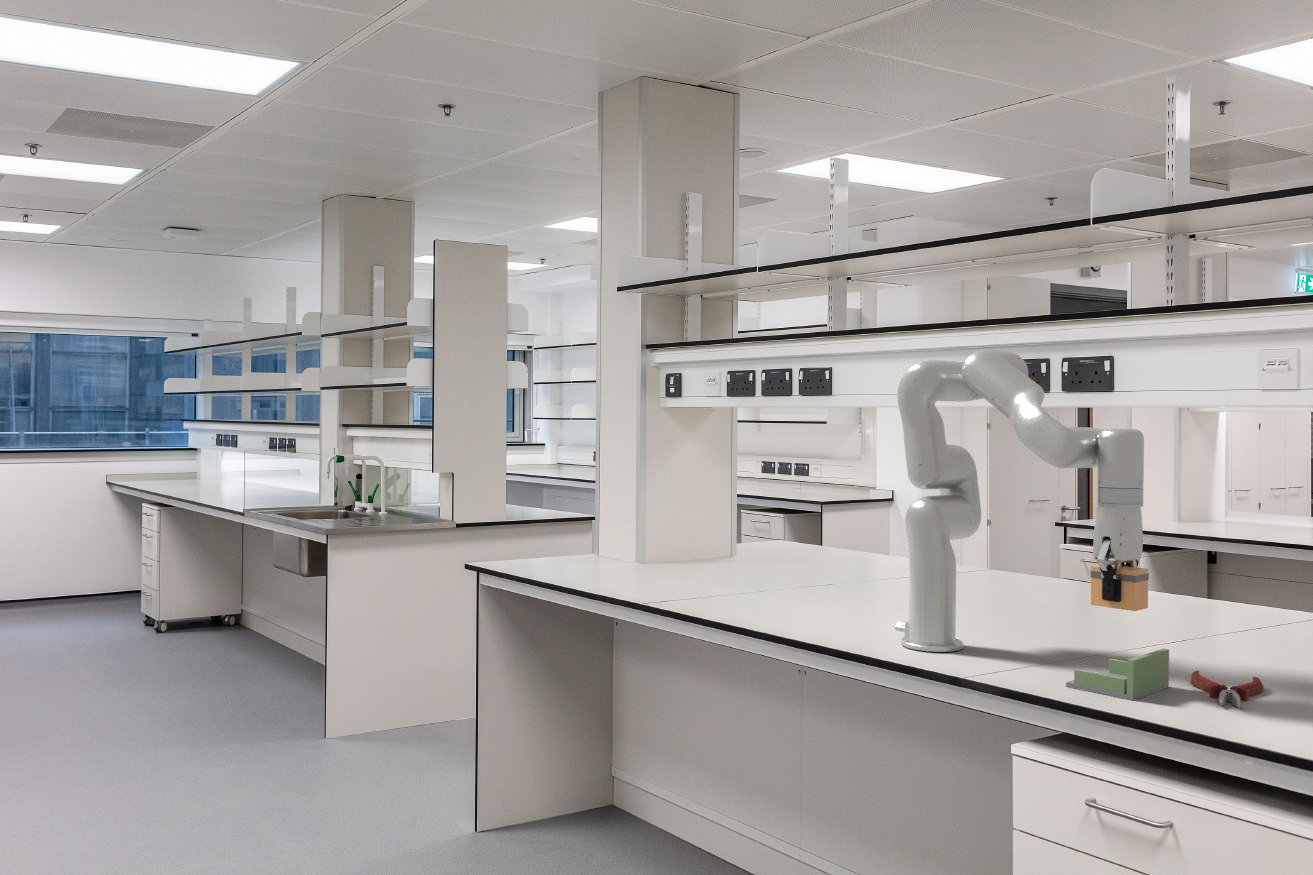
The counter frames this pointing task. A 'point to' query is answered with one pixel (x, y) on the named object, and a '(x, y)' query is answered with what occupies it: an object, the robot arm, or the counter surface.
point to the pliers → (1227, 695)
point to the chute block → (1123, 588)
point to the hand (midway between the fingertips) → (1119, 598)
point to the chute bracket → (1127, 676)
